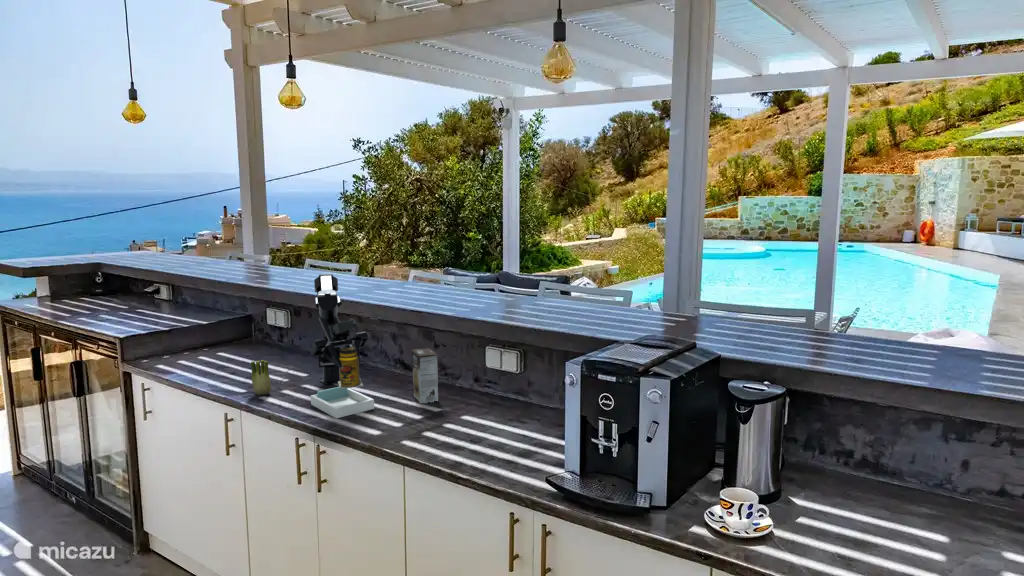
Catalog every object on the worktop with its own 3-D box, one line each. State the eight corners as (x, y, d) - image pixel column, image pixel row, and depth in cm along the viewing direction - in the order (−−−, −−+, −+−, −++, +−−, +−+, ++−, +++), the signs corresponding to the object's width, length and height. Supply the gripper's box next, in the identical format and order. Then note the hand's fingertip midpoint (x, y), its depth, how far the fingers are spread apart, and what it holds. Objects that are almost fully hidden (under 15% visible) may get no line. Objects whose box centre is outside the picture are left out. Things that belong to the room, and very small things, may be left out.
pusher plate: (317, 402, 210) (317, 391, 210) (346, 395, 217) (345, 385, 216) (319, 403, 210) (318, 392, 209) (347, 396, 216) (347, 385, 215)
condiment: (340, 389, 204) (337, 352, 202) (337, 381, 212) (335, 346, 210) (363, 386, 207) (361, 349, 205) (360, 379, 215) (358, 343, 213)
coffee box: (412, 396, 218) (410, 349, 216) (431, 393, 220) (429, 347, 218) (419, 404, 210) (418, 355, 207) (439, 401, 212) (437, 353, 210)
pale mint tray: (309, 403, 212) (309, 394, 211) (346, 395, 220) (345, 386, 220) (336, 418, 197) (335, 408, 197) (374, 408, 206) (373, 399, 205)
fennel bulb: (251, 395, 222) (248, 361, 220) (262, 391, 226) (260, 357, 224) (263, 397, 219) (260, 363, 217) (274, 393, 223) (272, 359, 221)
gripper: (312, 315, 202) (330, 356, 196) (365, 307, 215) (384, 345, 208) (302, 336, 209) (320, 376, 203) (354, 327, 221) (372, 365, 215)
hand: (350, 365), depth 207 cm, fingers closed on condiment, 6 cm apart
